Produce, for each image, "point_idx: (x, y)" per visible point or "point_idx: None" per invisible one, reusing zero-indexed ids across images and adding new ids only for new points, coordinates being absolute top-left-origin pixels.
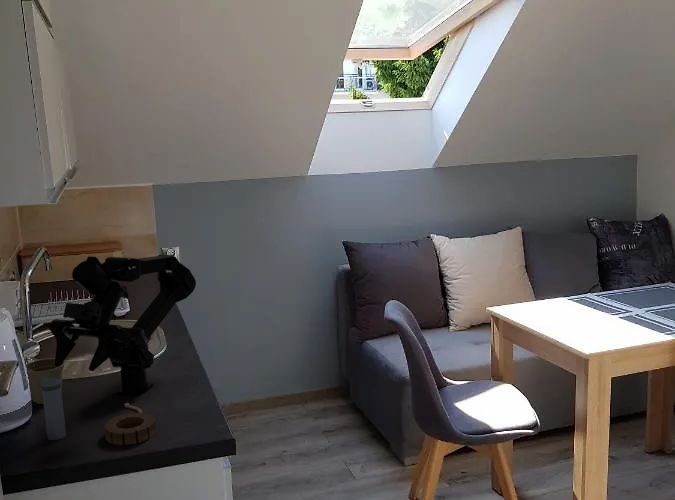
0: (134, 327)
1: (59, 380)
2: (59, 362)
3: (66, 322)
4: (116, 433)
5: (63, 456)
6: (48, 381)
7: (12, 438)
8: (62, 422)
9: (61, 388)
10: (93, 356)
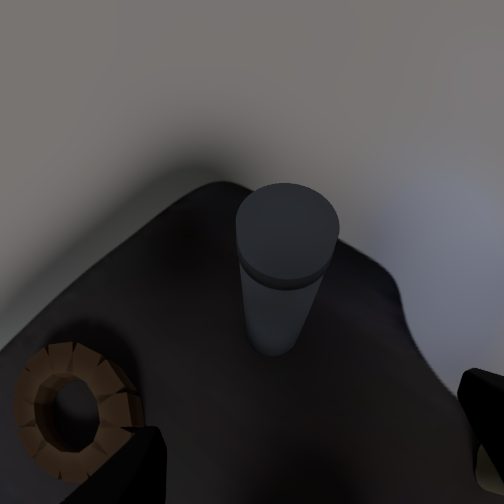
0: None
1: (242, 246)
2: (473, 400)
3: None
4: (61, 343)
5: (164, 262)
6: (273, 200)
7: (370, 272)
8: (245, 320)
9: (495, 492)
10: (116, 495)
